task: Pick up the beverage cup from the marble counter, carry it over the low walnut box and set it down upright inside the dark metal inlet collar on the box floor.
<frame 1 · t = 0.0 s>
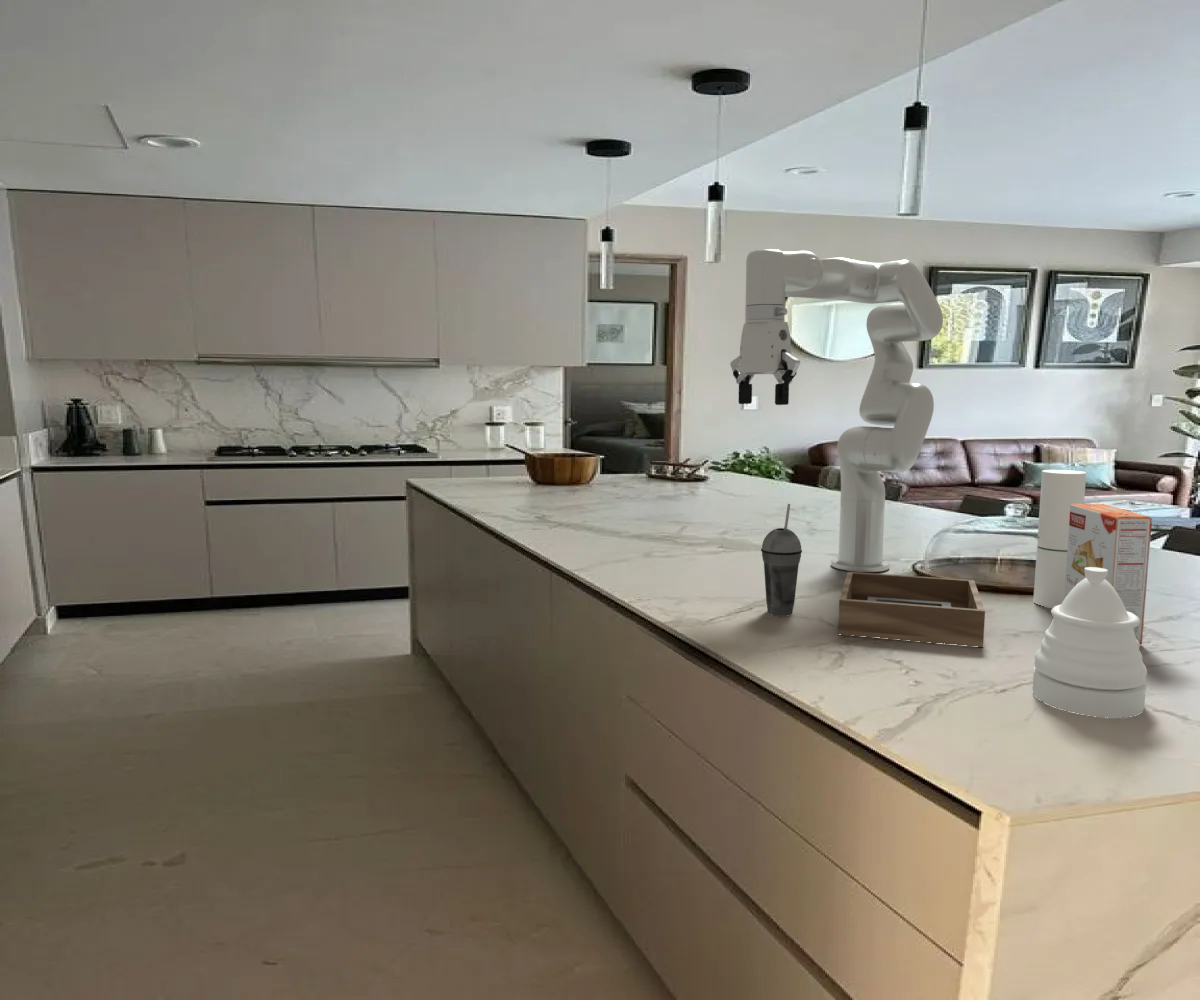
hand: (763, 404, 168), 37 cm above the countertop, tool pointing down, fingers open, 9 cm apart
cracker box: (1099, 634, 141), on the countertop
cylindrical container: (1054, 605, 159), on the countertop
beverage cup: (779, 613, 155), on the countertop
honey pot: (1086, 701, 112), on the countertop
walled box: (908, 623, 147), on the countertop
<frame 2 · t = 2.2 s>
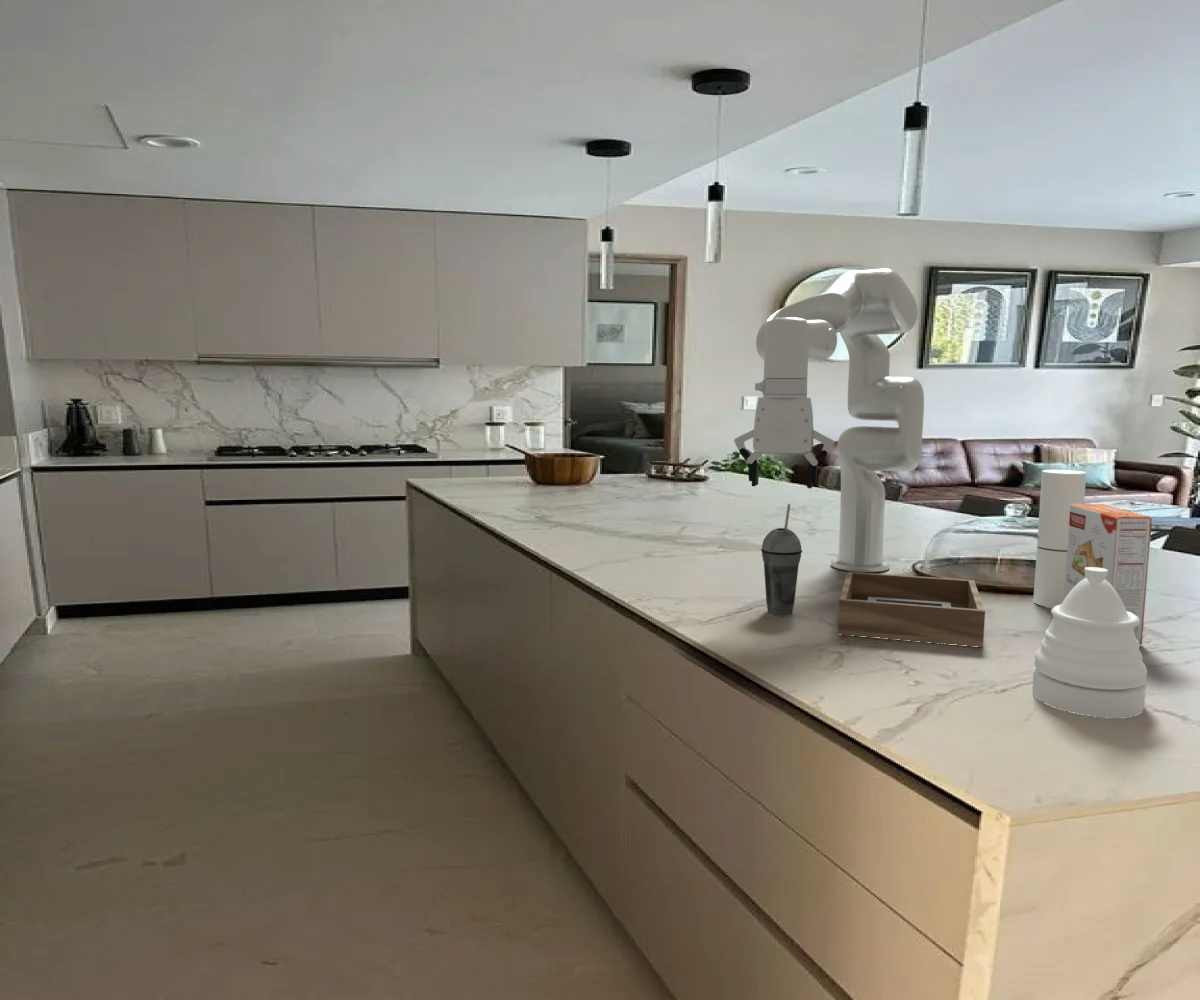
hand: (782, 486, 151), 23 cm above the countertop, tool pointing down, fingers open, 9 cm apart
nothing on the countertop moved.
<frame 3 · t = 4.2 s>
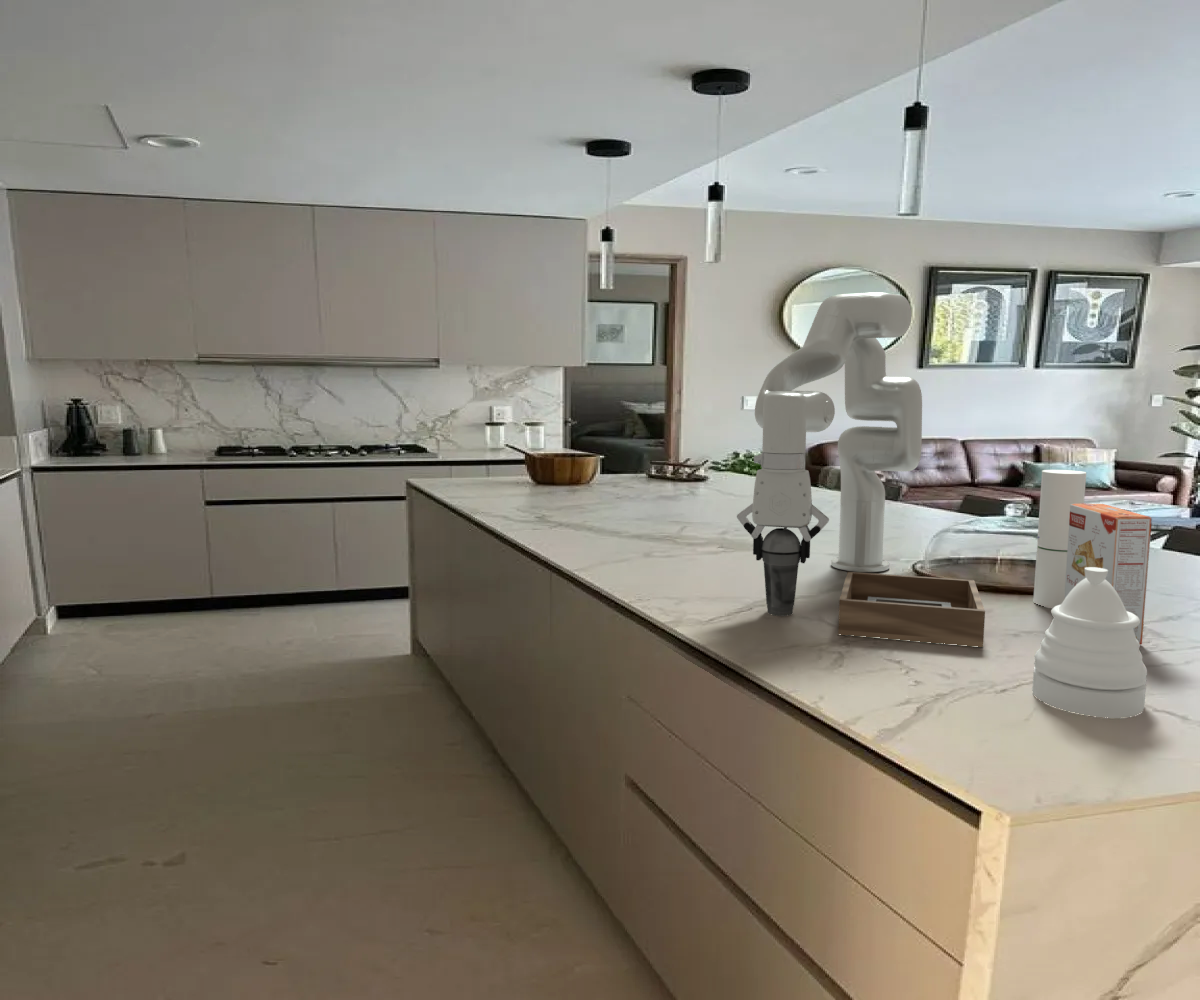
hand: (781, 559, 153), 10 cm above the countertop, tool pointing down, fingers closed on beverage cup, 7 cm apart
beverage cup: (780, 613, 155), on the countertop, touching gripper
everything else where it was.
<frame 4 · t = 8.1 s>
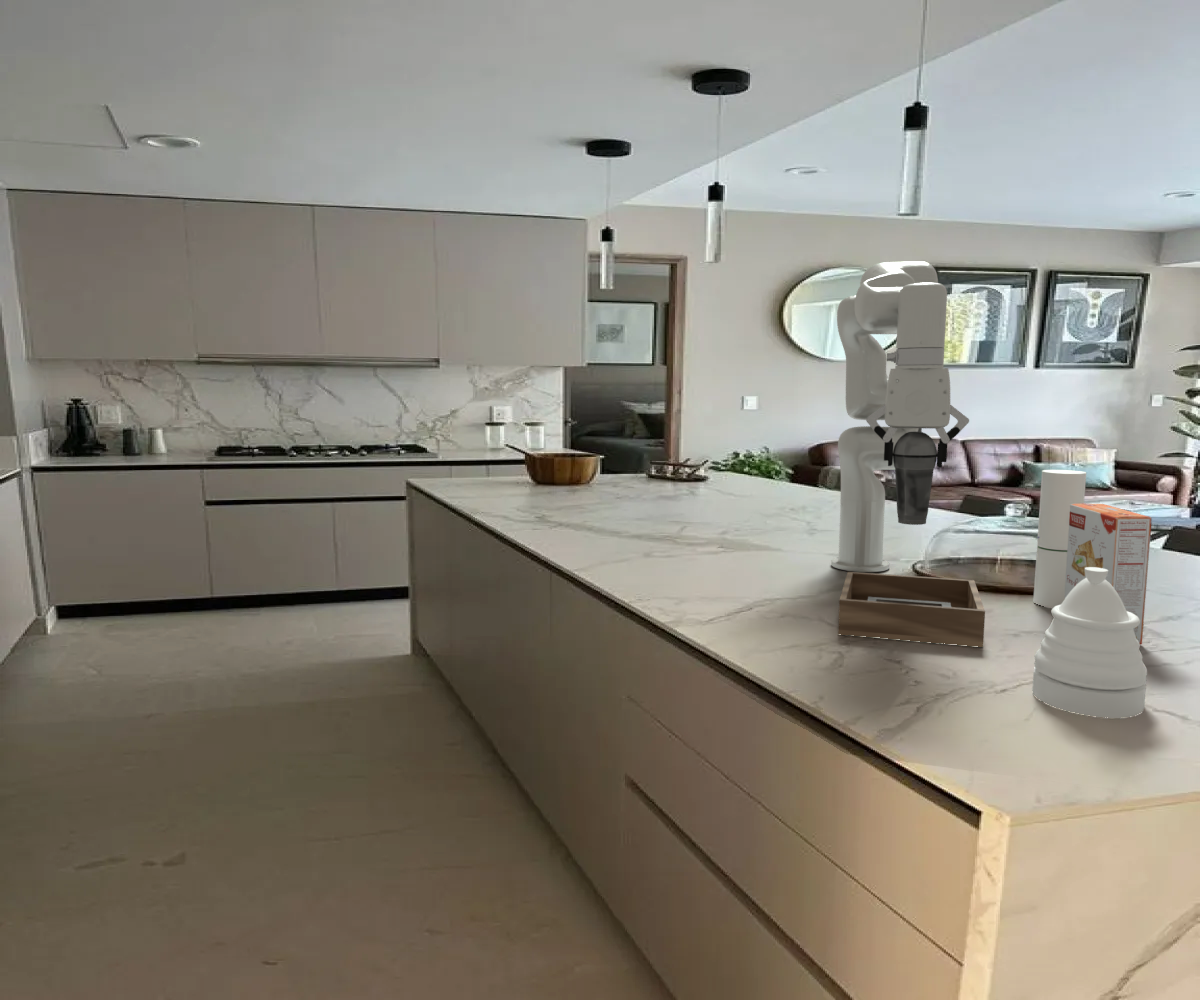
hand: (914, 465, 144), 28 cm above the countertop, tool pointing down, fingers closed on beverage cup, 7 cm apart
beverage cup: (911, 523, 145), point 18 cm above the countertop, touching gripper
everything else where it was.
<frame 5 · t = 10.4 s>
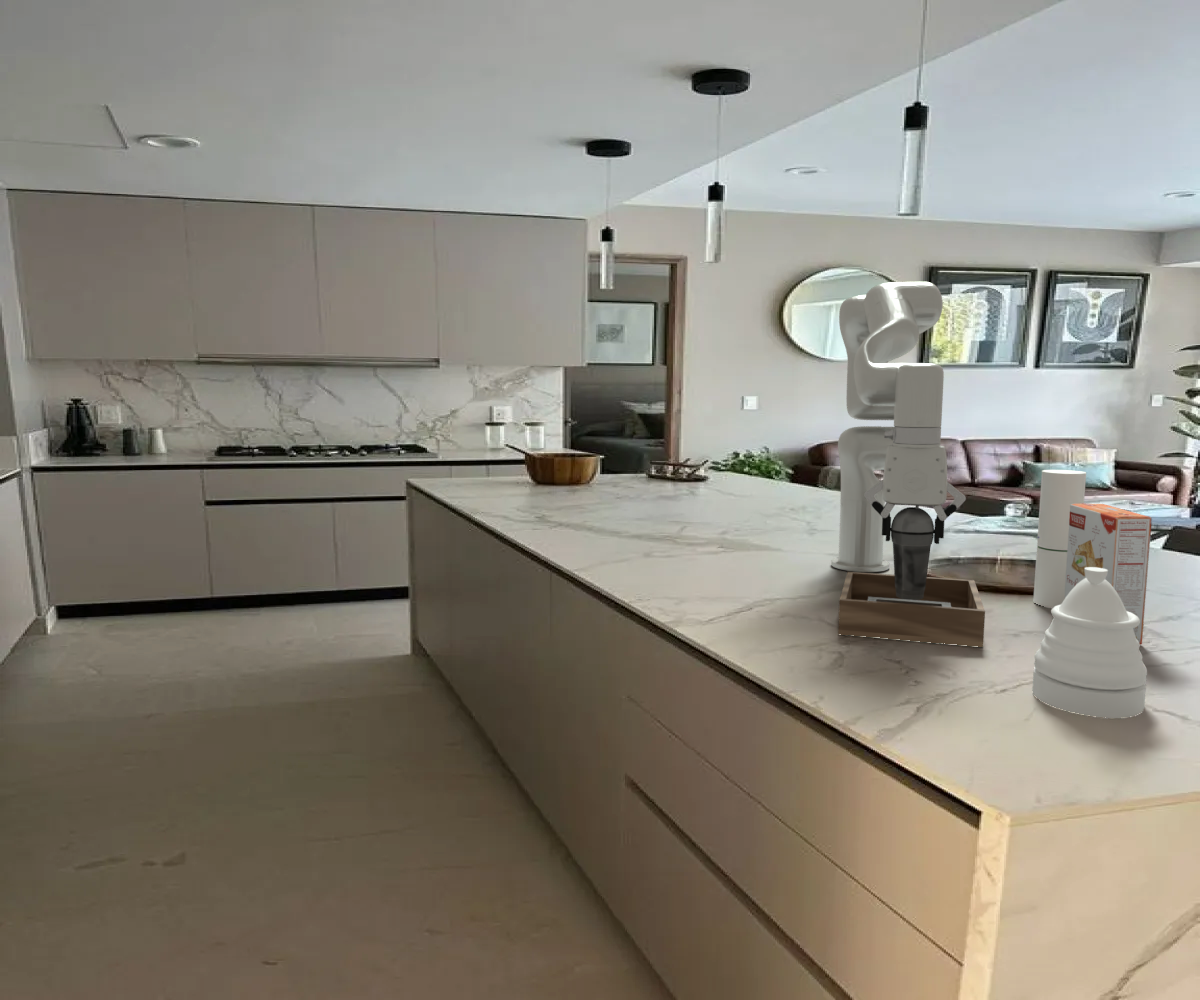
hand: (912, 540, 145), 15 cm above the countertop, tool pointing down, fingers closed on beverage cup, 7 cm apart
beverage cup: (909, 597, 147), point 5 cm above the countertop, touching gripper
everything else where it was.
when the fingers open (13 cm above the countertop, at t = 11.9 s): beverage cup drops 2 cm, resting on walled box.
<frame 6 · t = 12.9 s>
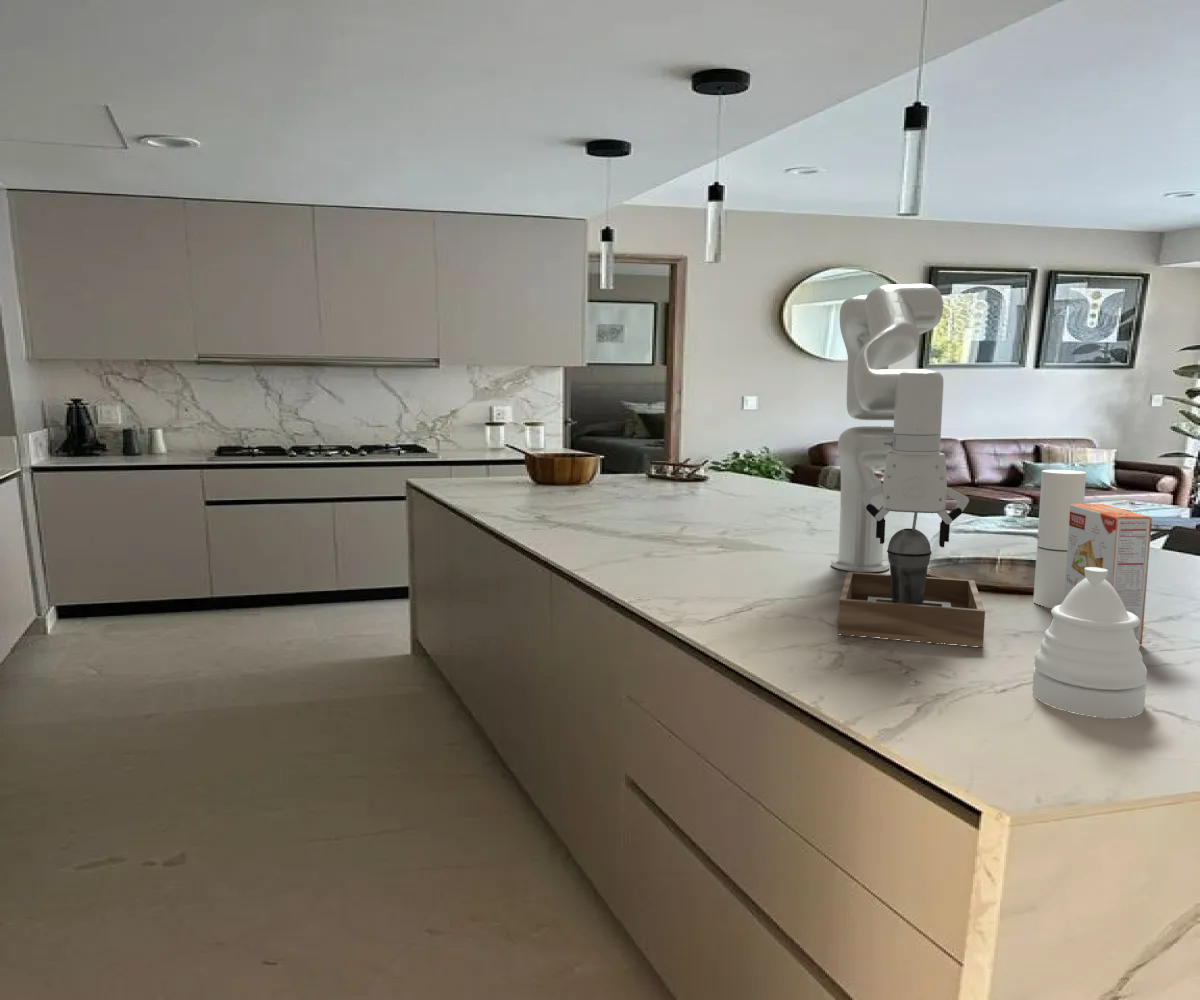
hand: (911, 544, 146), 14 cm above the countertop, tool pointing down, fingers open, 9 cm apart
beverage cup: (906, 618, 148), point 1 cm above the countertop, touching walled box
everything else where it was.
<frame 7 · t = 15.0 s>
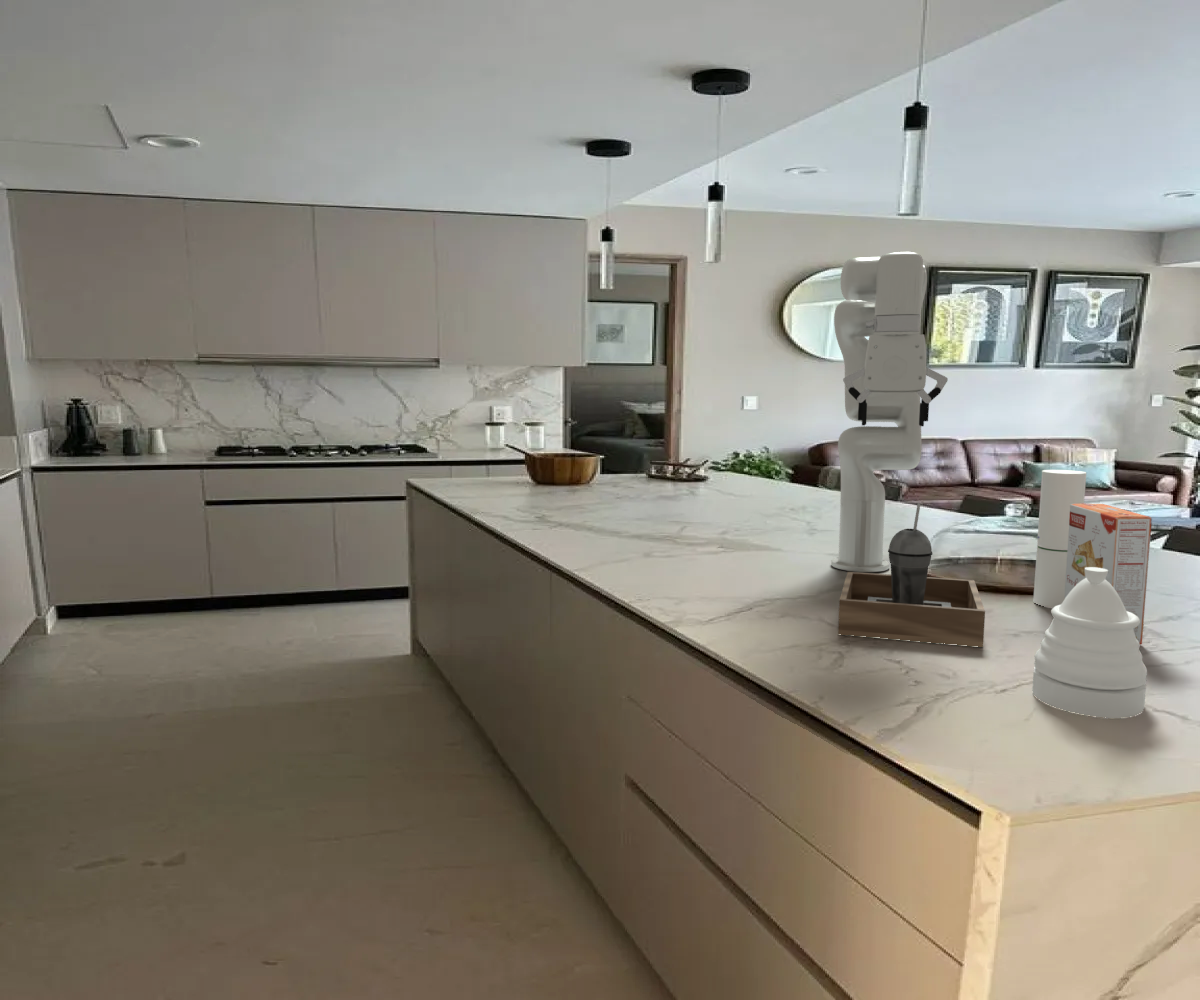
hand: (892, 425, 150), 34 cm above the countertop, tool pointing down, fingers open, 9 cm apart
nothing on the countertop moved.
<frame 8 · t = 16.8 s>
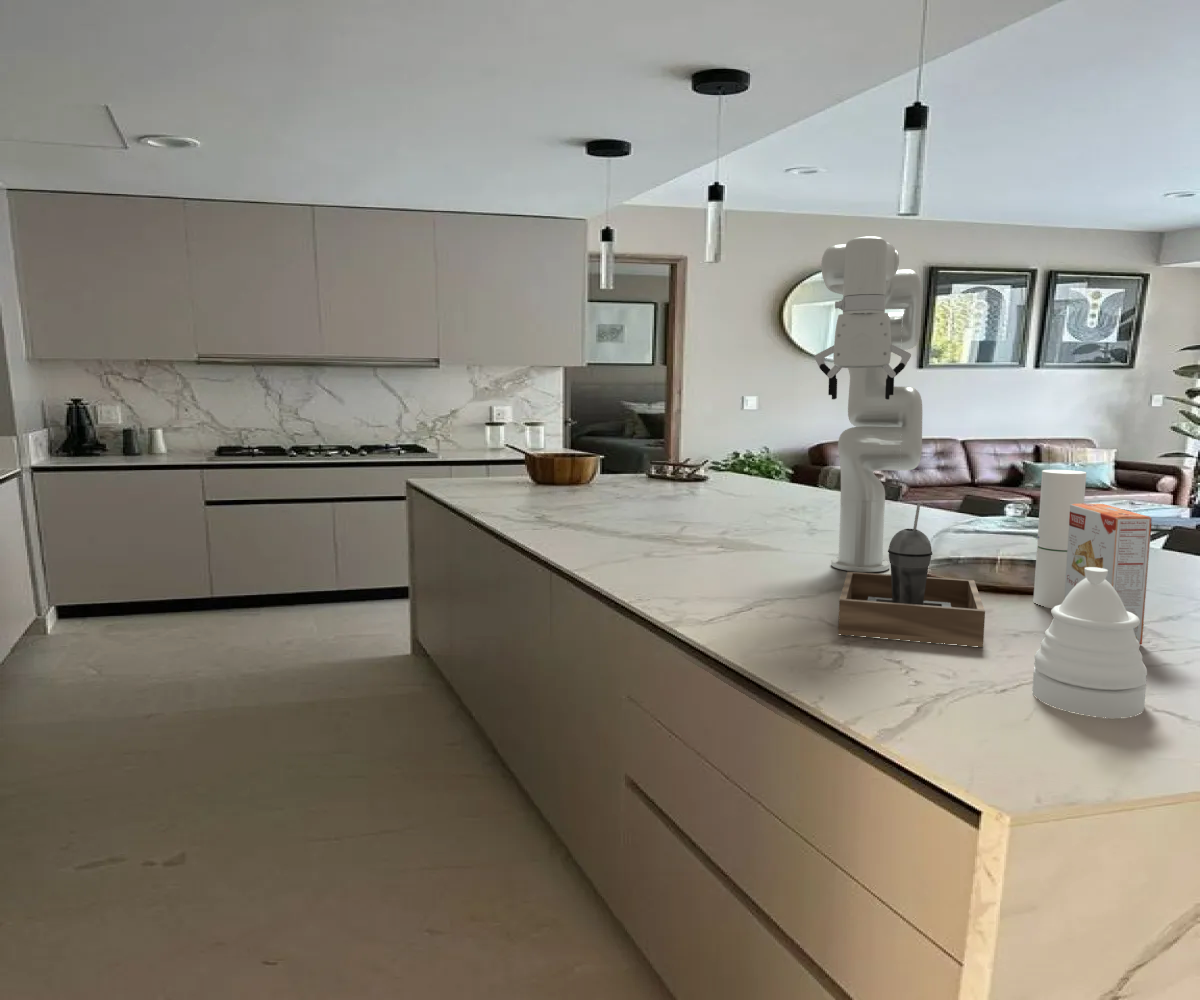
hand: (860, 399, 160), 38 cm above the countertop, tool pointing down, fingers open, 9 cm apart
nothing on the countertop moved.
at the end: beverage cup 0.4 cm off-centre on the walled box, point 0.8 cm above the walled box's base; beverage cup tilted 0°; the gripper is holding nothing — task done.
